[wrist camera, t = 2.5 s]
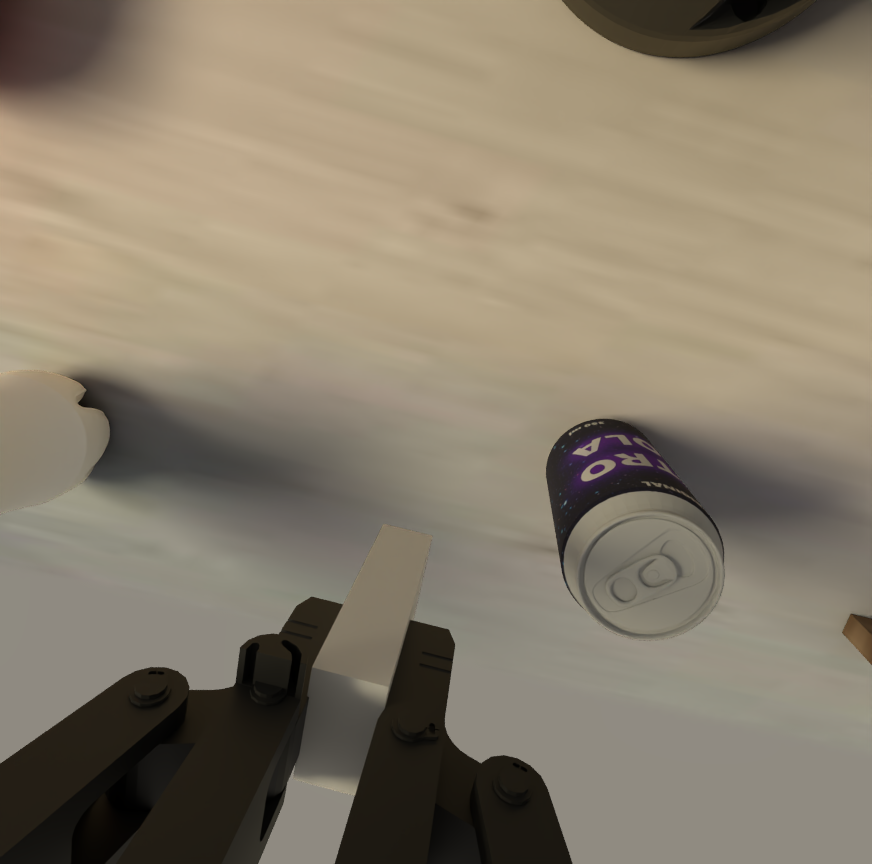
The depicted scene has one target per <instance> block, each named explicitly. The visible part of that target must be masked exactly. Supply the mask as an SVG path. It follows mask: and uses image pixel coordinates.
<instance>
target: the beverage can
mask: <svg viewBox="0 0 872 864" xmlns="http://www.w3.org/2000/svg"><path fill="white" fill-rule="evenodd" d="M546 478H547V484H548V490H549V496H550V502H551V508H552V514H553V520H554V526H555V532H556V538H557V544H558V550H559V556H560V562H561V568H562V574H563V578H564V581H565V583H566V586H567V588H568V590H569V591H570V593H571V595H572V596H573V598H574V599H575V600H576V601H577V603H578V604H579V605H580V606H581V607H582V608H583V609H585V610H586V611H587V612H588V614H589V615H590V616H591V617H592V618H593V619H594V620H595V621H596V622H597V623H598V624H599V625H601V626H602V627H604V628H605V629H607V630H608V631H610V632H613V633H615V634H617V635H619V636H622V637H625V638H629V639H634V640H643V641H654V640H663V639H668V638H672V637H675V636H678V635H681V634H683V633H685V632H687V631H689V630H691V629H693V628H694V627H695V626H697V625H698V624H700V623H701V622H702V621H703V620H704V619H705V618H706V617H707V616H708V615H709V614H710V613H711V612H712V610H713V609H714V607H715V606H716V604H717V602H718V600H719V598H720V596H721V593H722V590H723V586H724V578H725V572H724V548H723V542H722V539H721V536H720V533H719V531H718V529H717V527H716V525H715V523H714V521H713V520H712V519H711V517H710V516H709V515H708V514H707V512H706V511H705V510H704V509H703V507H702V506H701V505H700V504H699V502H698V501H697V500H696V499H695V497H694V496H693V495H692V494H691V492H690V491H689V490H688V489H687V488H686V486H685V485H684V484H683V483H682V481H681V480H680V479H679V478H678V476H677V475H676V474H675V473H674V471H673V470H672V469H671V468H670V466H669V465H668V464H667V463H666V462H665V460H664V459H663V458H662V457H661V455H660V454H659V453H658V452H657V450H656V449H655V448H654V447H653V445H652V444H651V443H650V442H649V440H648V439H647V438H646V437H645V436H644V435H643V434H642V433H641V432H640V431H639V430H637V429H636V428H634V427H632V426H631V425H629V424H626V423H624V422H621V421H617V420H611V419H596V420H590V421H587V422H583V423H581V424H578V425H576V426H574V427H573V428H571V429H570V430H568V431H567V432H566V433H564V434H563V435H562V436H561V437H560V438H559V439H558V441H557V442H556V443H555V445H554V446H553V448H552V450H551V452H550V454H549V457H548V461H547V466H546Z"/></svg>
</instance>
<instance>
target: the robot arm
mask: <svg viewBox="0 0 872 864" xmlns="http://www.w3.org/2000/svg"><path fill="white" fill-rule="evenodd" d="M562 1H563V2H564V3H565V4H566V6H567V7H568V8H569V9H570V10H571V11H572V12H573V13H574V14H575V15H576V16H577V17H578V18H579V19H580V20H581V21H583V22H584V23H585V24H586V25H587V26H589V27H590V28H591V29H593V30H594V31H595V32H597V33H598V34H600V35H602V36H603V37H605V38H607V39H608V40H610V41H612V42H614V43H617V44H619V45H621V46H624V47H626V48H629V49H631V50H635V51H638V52H642V53H646V54H651V55H656V56H665V57H696V56H704V55H710V54H715V53H720V52H724V51H727V50H731V49H734V48H737V47H740V46H743V45H745V44H748V43H751V42H753V41H755V40H757V39H759V38H762V37H764V36H765V35H767V34H769V33H771V32H773V31H775V30H777V29H778V28H780V27H781V26H783V25H785V24H786V23H788V22H789V21H791V20H792V19H794V18H795V17H796V16H798V15H799V14H800V13H802V12H803V11H804V10H806V9H807V8H808V7H809V6H810V5H812V4H813V3H814V2H815V1H816V0H562ZM431 541H432V535H427V534H423V533H419V532H415V531H411V530H407V529H403V528H399V527H394V526H390V525H386V524H383V526H382V528H381V530H380V532H379V534H378V536H377V538H376V540H375V542H374V544H373V546H372V548H371V550H370V552H369V554H368V556H367V558H366V560H365V562H364V564H363V566H362V568H361V570H360V572H359V574H358V576H357V578H356V580H355V582H354V584H353V586H352V588H351V590H350V592H349V594H348V596H347V598H346V600H345V602H344V604H339V603H335V602H331V601H327V600H323V599H319V598H315V597H310V598H309V599H307V600H305V601H304V602H302V603H301V604H299V605H297V606H296V608H295V609H294V611H293V612H292V614H291V616H290V617H289V619H288V621H287V622H286V623H285V625H284V627H283V628H282V630H281V632H280V633H279V634H266V635H260V636H257V637H255V638H252V639H250V640H248V641H247V642H246V643H245V644H244V645H242V646H241V647H240V654H239V661H238V669H237V677H236V683H235V685H234V686H233V687H229V688H225V689H219V690H189V685H188V682H187V680H186V678H185V677H184V676H183V675H182V674H180V673H179V672H178V671H175V670H172V669H169V668H164V667H162V668H161V667H158V668H157V667H155V668H154V667H150V668H146V669H142V670H138V671H135V672H133V673H131V674H129V675H127V676H125V677H123V678H122V679H120V680H119V681H118V682H116V683H115V684H114V685H112V686H110V687H109V688H108V689H106V690H105V691H103V692H102V693H101V694H99V695H98V696H96V697H95V698H93V699H92V700H90V701H89V702H88V703H86V704H85V705H83V706H82V707H80V708H79V709H78V710H76V711H75V712H73V713H72V714H71V715H69V716H68V717H66V718H65V719H63V720H62V721H61V722H59V723H58V724H56V725H55V726H53V727H52V728H51V729H49V730H48V731H46V732H45V733H43V734H42V735H40V736H39V737H38V738H36V739H35V740H33V741H32V742H30V743H29V744H28V745H26V746H25V747H23V748H22V749H20V750H19V751H18V752H16V753H15V754H14V755H12V756H10V757H9V758H8V759H6V760H5V761H3V762H2V763H0V864H258V863H259V860H260V858H261V855H262V853H263V851H264V848H265V846H266V844H267V841H268V839H269V836H270V834H271V832H272V829H273V827H274V825H275V822H276V820H277V817H278V815H279V813H280V810H281V808H282V805H283V802H284V797H285V792H286V786H287V782H288V779H289V777H290V775H291V773H292V770H293V768H294V765H295V770H294V776H293V779H294V780H298V781H301V782H305V783H309V784H312V785H316V786H320V787H324V788H327V789H331V790H335V791H338V792H342V793H346V794H349V795H353V796H355V797H354V801H353V804H352V808H351V811H350V814H349V817H348V821H347V824H346V828H345V831H344V835H343V838H342V841H341V844H340V848H339V851H338V855H337V858H336V861H335V864H572V861H571V858H570V855H569V852H568V849H567V846H566V843H565V840H564V837H563V834H562V831H561V828H560V825H559V822H558V819H557V816H556V813H555V810H554V807H553V804H552V801H551V798H550V795H549V792H548V789H547V787H546V785H545V783H544V781H543V779H542V778H541V776H540V775H539V774H538V773H537V772H536V771H535V770H534V769H533V768H532V767H531V766H530V765H528V764H526V763H525V762H523V761H521V760H519V759H517V758H513V757H509V756H504V755H503V756H494V757H490V758H489V759H487V760H485V761H484V762H482V764H481V763H479V762H478V761H476V760H474V759H472V758H471V757H469V756H467V755H466V754H465V753H463V752H462V751H460V750H459V749H458V748H457V747H456V746H455V745H454V744H453V743H452V741H451V739H450V738H449V736H448V734H447V731H446V728H445V712H446V706H447V699H448V691H449V685H450V677H451V670H452V663H453V656H454V649H455V643H454V641H453V638H452V636H451V634H450V631H449V630H448V629H444V628H440V627H436V626H432V625H428V624H424V623H420V622H416V621H413V620H414V616H415V612H416V608H417V603H418V599H419V594H420V590H421V585H422V581H423V577H424V572H425V568H426V563H427V559H428V554H429V550H430V545H431ZM295 763H296V764H295Z"/></svg>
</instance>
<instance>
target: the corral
mask: <svg viewBox="0 0 872 864" xmlns="http://www.w3.org/2000/svg"><path fill="white" fill-rule="evenodd" d="M842 633H843V634H844V635H845V636H846V637H847V638H848V639H849V641H850V642H851V643H852V644H853V645H854V646H855V647H856V648H857V649H858V650H859V652H860V653H861V654H862V655H863V656H864V657H865V658H866V659H867V660H868V661H869V662H870V664H871V665H872V619H869V618H865V617H861V616H857V615H853V614H851V615H850V617H849V619H848V621H847V623H846V625H845V628H844V630H843V632H842Z"/></svg>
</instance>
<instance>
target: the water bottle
mask: <svg viewBox="0 0 872 864" xmlns="http://www.w3.org/2000/svg"><path fill="white" fill-rule="evenodd" d="M85 392H86V389H85V388H84V387H83V386H82V385H81V384H80V383H79V382H77V381H75V380H73V379H70V378H68V377H65V376H63V375H59V374H55V373H51V372H46V371H38V370H18V371H9V372H4V373H0V515H1V514H3V513H6V512H9V511H13V510H17V509H21V508H24V507H29V506H35V505H39V504H43V503H46V502H48V501H50V500H52V499H54V498H56V497H58V496H60V495H62V494H64V493H66V492H68V491H70V490H71V489H73V488H75V487H76V486H78V485H79V484H81V483H82V482H83V481H84V480H86V478H87V477H88V476H89V474H90V473H91V471H92V470H93V468H94V465H95V464H96V463H97V462H98V460H99V459H100V458H101V456H102V455H103V453H104V451H105V449H106V447H107V444H108V442H109V438H110V427H109V421H108V419H107V418H106V416H105V415H104V412H102V411H101V410H98V409H94V408H86V407H82V406H80V405H79V404H78V402H79V401H80V400H81V399H82V398H83V396H84V393H85Z"/></svg>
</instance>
